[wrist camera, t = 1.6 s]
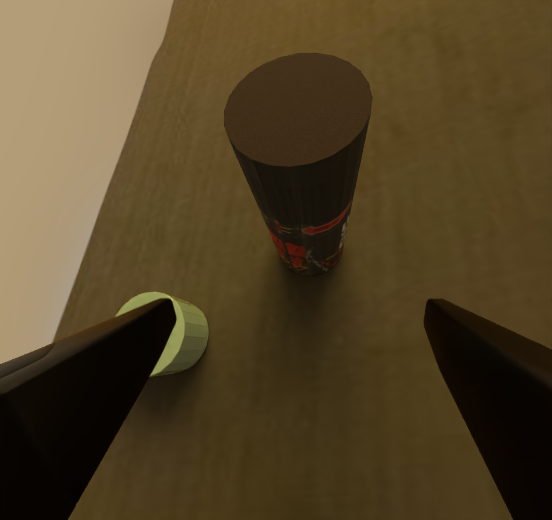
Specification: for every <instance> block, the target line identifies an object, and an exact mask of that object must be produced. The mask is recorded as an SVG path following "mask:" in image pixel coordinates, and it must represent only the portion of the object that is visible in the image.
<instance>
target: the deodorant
mask: <svg viewBox="0 0 552 520" xmlns="http://www.w3.org/2000/svg"><path fill="white" fill-rule="evenodd" d="M371 106H372V94H371V90H370V86H369V83H368V81H367V80H366V78H365V77H364V75H363V74H362V73H361V71H360V70H358V69H357V68H356V67H354V66H353V65H352V64H350V63H349V62H348V61H345V60H343V59H340V58H338V57H335V56H332V55H326V54H320V53H297V54H293V55H288V56H283V57H280V58H277V59H275V60H272V61H270V62H267V63H265V64H263V65H261V66H260V67H258V68H257V69H255V70H253V71H252V72H250V73H249V74H248V75H247V76H246V77H245V78H244V79H243V80H242V81H240V82H239V83H238V84H237V86H236V87H235V89H234V90H233V92H232V93H231V95H230V96H229V98H228V101H227V104H226V107H225V110H224V127H225V129H226V132H227V135H228V138H229V140H230V143H231V145H232V147H233V150H234V152H235V154H236V156H237V159H238V161H239V163H240V166H241V168H242V170H243V172H244V175H245V177H246V179H247V182H248V184H249V186H250V188H251V191H252V193H253V195H254V198H255V200H256V202H257V204H258V207H259V209H260V211H261V214H262V216H263V218H264V220H265V223H266V225H267V227H268V229H269V232H270V234H271V236H272V239H273V241H274V243H275V245H276V248H277V250H278V252H279V255H280V257H281V259H282V261H283V262H284V264H285V265H286V266H287V267H288V268H289V269H291V270H292V271H293V272H296V273H298V274H300V275H306V276H313V275H319V274H322V273H325V272H327V271H328V270H330V269H331V268H332V267H333V266H334V265H335V264H336V263H337V262H338V260H339V258H340V256H341V254H342V249H343V244H344V239H345V235H346V230H347V225H348V220H349V215H350V210H351V206H352V201H353V196H354V191H355V186H356V181H357V177H358V172H359V167H360V162H361V157H362V153H363V148H364V143H365V138H366V133H367V128H368V124H369V119H370V114H371Z"/></svg>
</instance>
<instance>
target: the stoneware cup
mask: <svg viewBox="0 0 552 520" xmlns="http://www.w3.org/2000/svg"><path fill="white" fill-rule="evenodd" d="M159 298H170V299H171V300H172V302H173V305H174V309H175V312H176V316H177V321H176V324H175V326H174V329H173V331H172V333H171V335H170V338H169V340H168V342H167V344H166V347H165V349H164V351H163V353H162V355H161V357H160V359H159V361H158V363H157V365H156V366H155V368H154V370H153V372H152V373H151V375H150V377H154V376H161V375H167V374H174V373H178V372H182V371H184V370H186V369H188V368H190V367H191V366H192V365H194V364H195V363H196V362H197V361H198V360H199V358H200V357H201V356H202V354H203V352H204V350H205V348H206V345H207V342H208V335H209V329H208V323H207V320H206V318H205V316H204V314H203V313H202V311H201V310H200V309H199V308H198V307H196V306H195V305H193V304H191V303H188V302H186V301H183V300H181V299H178V298H175V297H172V296H170V295H167V294H163V293H159V292H147V293H143V294H140V295H138V296H136V297H134V298H132V299H131V300H130V301H128V302H127V303H126V304H125V305H123V307H122V308H121V309H120V311H119V312H118V313H117V315H116V316H119V315H121V314H123V313H126V312H128V311H130V310H133V309H135V308H138V307H140V306H142V305H145V304H147V303H149V302H152V301H154V300H157V299H159ZM116 316H115V317H116Z"/></svg>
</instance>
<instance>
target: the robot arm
mask: <svg viewBox="0 0 552 520" xmlns="http://www.w3.org/2000/svg"><path fill="white" fill-rule="evenodd" d="M176 321H177V316H176V312H175V309H174V305H173V302H172V300H171V299H170V298H159V299H157V300H154V301H152V302H149V303H147V304H145V305H142V306H140V307H138V308H135V309H133V310H130V311H128V312H126V313H123V314H121V315H119V316H116V317H114V318H111V319H109V320H107V321H104V322H102V323H99V324H97V325H95V326H92V327H90V328H88V329H85V330H83V331H80V332H78V333H76V334H73V335H71V336H69V337H66V338H64V339H61V340H59V341H57V342H54V343H52V344H49V345H47V346H45V347H42V348H40V349H37V350H35V351H33V352H30V353H28V354H25V355H23V356H20V357H18V358H15V359H12V360H10V361H8V362H5V363H2V364H0V520H68V518H69V517H70V515H71V513H72V512H73V510H74V508H75V506H76V503H77V502H78V501H79V499H80V497H81V495H82V494H83V492H84V490H85V488H86V487H87V485H88V483H89V481H90V480H91V478H92V476H93V475H94V473H95V471H96V469H97V468H98V466H99V464H100V462H101V461H102V459H103V457H104V455H105V454H106V452H107V450H108V448H109V447H110V445H111V443H112V441H113V440H114V438H115V436H116V434H117V433H118V431H119V429H120V427H121V426H122V424H123V422H124V420H125V419H126V417H127V415H128V413H129V412H130V410H131V408H132V407H133V405H134V403H135V401H136V400H137V398H138V396H139V394H140V393H141V391H142V389H143V387H144V386H145V384H146V382H147V380H148V379H149V377H150V375H151V373H152V372H153V370H154V368H155V366H156V365H157V363H158V361H159V359H160V357H161V355H162V353H163V351H164V349H165V347H166V344H167V342H168V340H169V338H170V335H171V333H172V331H173V329H174V326H175V324H176ZM424 328H425V331H426V333H427V336H428V339H429V342H430V345H431V348H432V350H433V353H434V356H435V359H436V362H437V364H438V367H439V369H440V372H441V374H442V376H443V378H444V380H445V382H446V384H447V386H448V388H449V390H450V392H451V394H452V396H453V398H454V400H455V402H456V404H457V406H458V409H459V411H460V413H461V415H462V417H463V419H464V421H465V423H466V425H467V427H468V429H469V431H470V433H471V435H472V437H473V439H474V441H475V443H476V445H477V447H478V449H479V451H480V453H481V455H482V457H483V459H484V461H485V463H486V465H487V467H488V469H489V471H490V473H491V476H492V478H493V480H494V482H495V484H496V486H497V488H498V490H499V492H500V494H501V496H502V498H503V500H504V502H505V504H506V506H507V508H508V510H509V512H510V514H511V516H512V518H513V520H552V349H549V348H547V347H545V346H543V345H541V344H539V343H536V342H534V341H532V340H530V339H528V338H526V337H524V336H521V335H519V334H517V333H515V332H513V331H511V330H508V329H506V328H504V327H502V326H500V325H498V324H496V323H493V322H491V321H489V320H487V319H485V318H483V317H480V316H478V315H476V314H474V313H472V312H470V311H468V310H465V309H463V308H461V307H459V306H457V305H455V304H452V303H450V302H448V301H446V300H444V299H429V300H428V301H427V303H426V309H425V315H424Z"/></svg>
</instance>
